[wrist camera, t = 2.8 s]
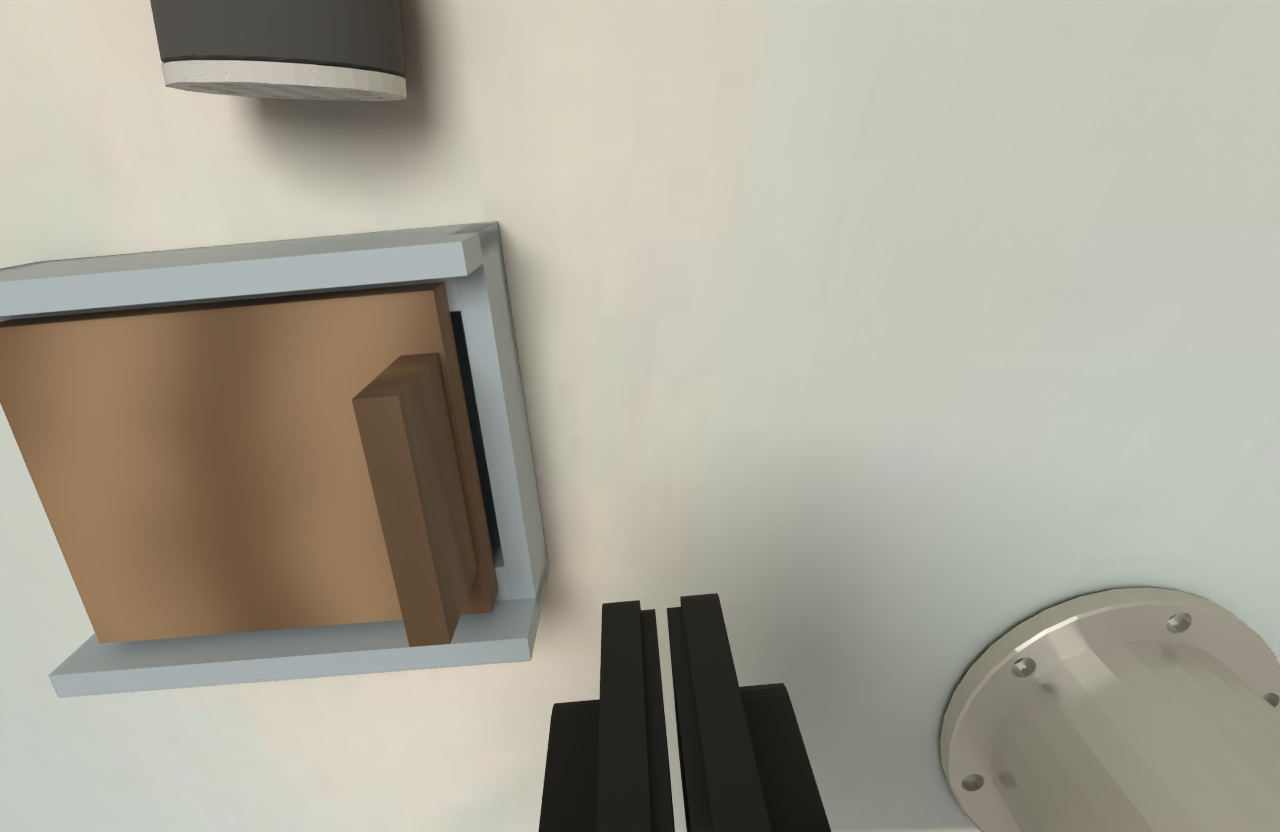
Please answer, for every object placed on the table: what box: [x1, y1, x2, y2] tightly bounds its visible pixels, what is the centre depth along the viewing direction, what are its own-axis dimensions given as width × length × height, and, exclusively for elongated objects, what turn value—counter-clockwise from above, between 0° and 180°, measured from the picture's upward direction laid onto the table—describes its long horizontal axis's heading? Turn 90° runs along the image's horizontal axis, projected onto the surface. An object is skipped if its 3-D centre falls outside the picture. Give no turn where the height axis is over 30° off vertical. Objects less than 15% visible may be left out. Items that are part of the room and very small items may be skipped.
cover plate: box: [0, 282, 499, 647], centre depth 19 cm, size 12×10×5 cm
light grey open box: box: [0, 221, 549, 698], centre depth 22 cm, size 14×12×5 cm
